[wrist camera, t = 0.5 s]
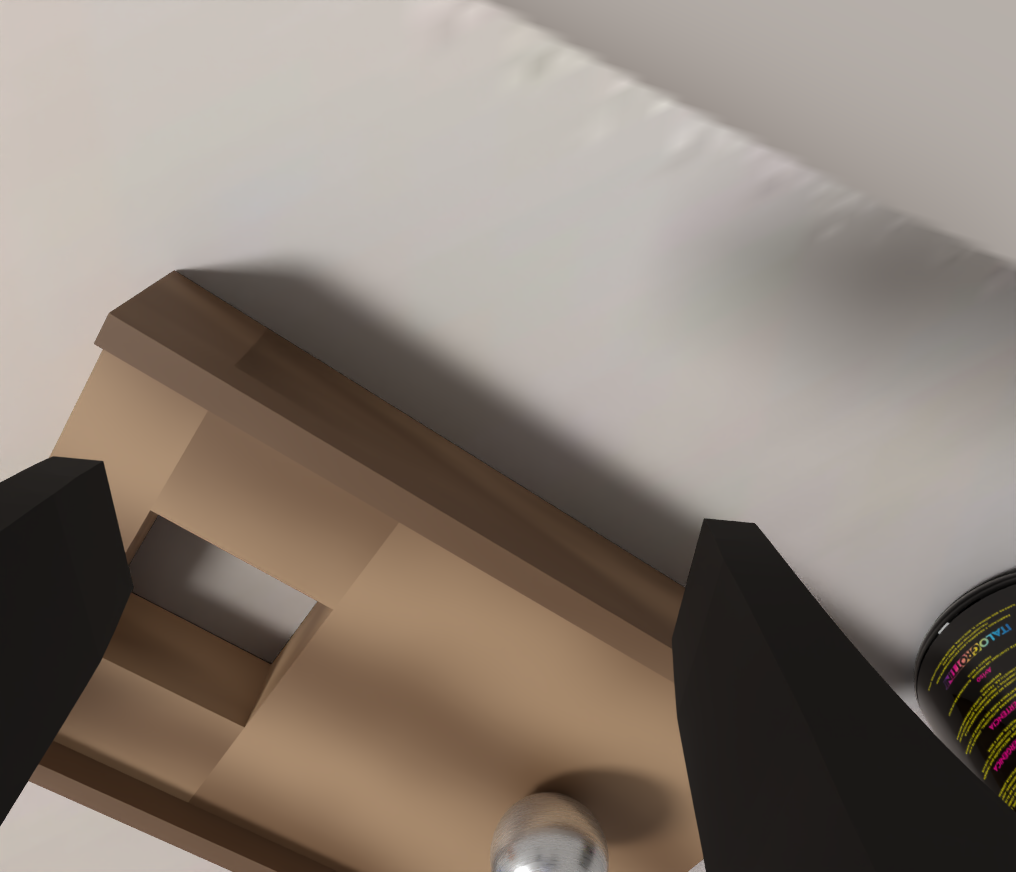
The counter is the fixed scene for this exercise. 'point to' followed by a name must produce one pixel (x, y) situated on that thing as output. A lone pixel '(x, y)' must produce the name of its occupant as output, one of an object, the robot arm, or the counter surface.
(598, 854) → the ball
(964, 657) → the supplement container
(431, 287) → the counter surface
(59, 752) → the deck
